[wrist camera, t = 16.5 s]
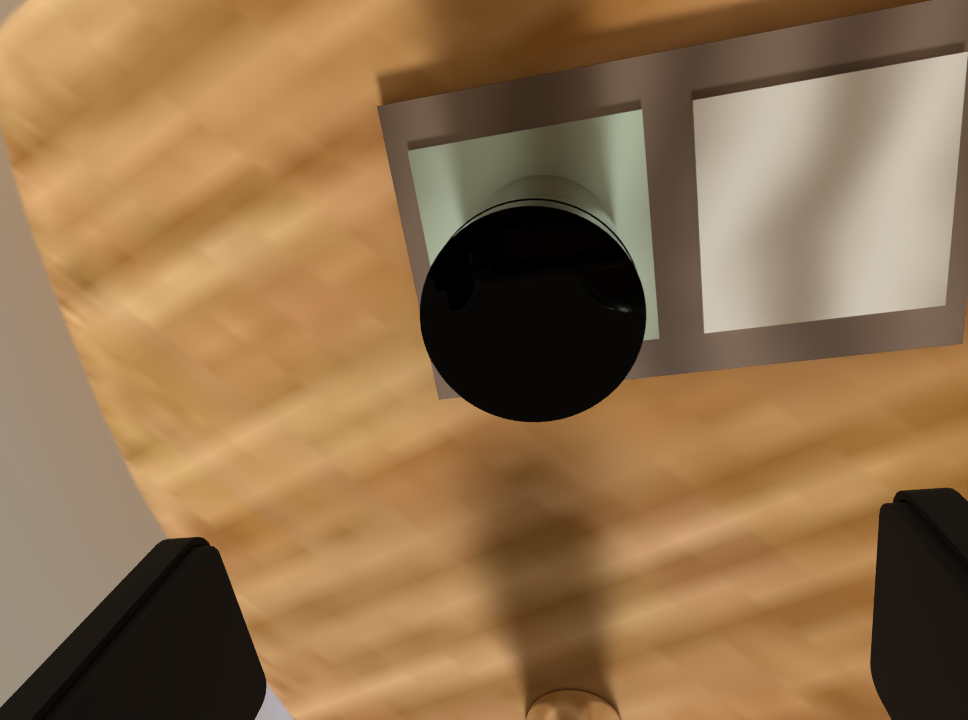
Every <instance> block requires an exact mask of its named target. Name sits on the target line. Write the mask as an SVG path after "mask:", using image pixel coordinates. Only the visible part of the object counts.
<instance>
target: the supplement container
mask: <svg viewBox="0 0 968 720" xmlns="http://www.w3.org/2000/svg"><path fill="white" fill-rule="evenodd" d="M646 318H647V317H646V301H645V294H644V291H643V287H642V283H641V280H640V278H639V275H638V272H637V269H636V267H635V264H634V261H633V259H632V257H631V255H630V253H629V251H628V250H627V248H626V247H625V245H624V244H623V242H622V240H621V238H620V236H619V234H618V232H617V229H616V227H615V225H614V223H613V221H612V219H611V217H610V215H609V213H608V211H607V210H606V208H605V207H604V205H603V204H602V203H601V201H600V200H599V199H598V198H597V197H596V196H595V195H594V194H593V193H591V192H590V191H589V190H588V189H586V188H585V187H583V186H581V185H580V184H578V183H576V182H573V181H571V180H568V179H565V178H561V177H557V176H550V175H538V176H530V177H525V178H521V179H518V180H515V181H513V182H511V183H509V184H507V185H505V186H503V187H502V188H500V189H499V190H497V191H496V192H495V193H494V194H492V195H491V196H490V197H489V198H488V199H487V200H486V201H485V203H484V204H483V205H482V206H481V207H480V208H479V209H478V210H477V212H476V213H475V214H474V215H473V216H472V217H471V218H470V219H469V220H468V221H467V222H465V223H464V224H463V225H462V226H461V227H460V228H459V229H458V230H457V231H456V232H455V233H454V234H453V235H452V236H451V238H450V239H449V240H448V242H447V243H446V244H445V246H444V247H443V248H442V250H441V251H440V252H439V254H438V255H437V257H436V258H435V260H434V262H433V263H432V265H431V267H430V269H429V272H428V274H427V276H426V279H425V282H424V286H423V290H422V295H421V302H420V324H421V332H422V336H423V341H424V344H425V347H426V350H427V352H428V354H429V357H430V359H431V361H432V363H433V364H434V366H435V368H436V370H437V371H438V373H439V374H440V375H441V377H442V378H443V379H444V381H445V382H446V383H447V384H448V385H449V386H450V387H451V388H452V389H453V390H454V391H455V392H456V393H457V394H458V395H459V396H461V397H462V398H463V399H465V400H466V401H467V402H469V403H471V404H472V405H474V406H475V407H477V408H479V409H481V410H483V411H485V412H487V413H490V414H492V415H495V416H498V417H501V418H505V419H509V420H514V421H522V422H546V421H554V420H559V419H563V418H567V417H570V416H573V415H576V414H578V413H581V412H583V411H585V410H587V409H589V408H591V407H593V406H594V405H596V404H598V403H599V402H601V401H602V400H603V399H605V398H606V397H607V396H608V395H610V394H611V393H612V392H613V391H614V390H615V389H616V388H617V387H618V386H619V385H620V384H621V382H622V381H623V380H624V379H625V377H626V376H627V375H628V373H629V372H630V370H631V369H632V367H633V365H634V363H635V361H636V359H637V357H638V355H639V352H640V350H641V346H642V343H643V340H644V335H645V329H646Z"/></svg>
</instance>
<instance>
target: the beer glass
mask: <svg viewBox="0 0 968 720" xmlns="http://www.w3.org/2000/svg"><path fill="white" fill-rule="evenodd" d="M526 720H620V718H619V716H618V714H617V712H616V711H615V709H614V708H613V707H612V706H611V705H610V704H609V703H607V702H606V701H605V700H603V699H602V698H600V697H598V696H596V695H594V694H591V693H588V692H584V691H579V690H560V691H555V692H552V693H549V694H546V695H544V696H542V697H541V698H539V699H538V700H537V701H536V702H534V703H533V705H532V706H531V707H530V709H529V711H528V714H527V717H526Z"/></svg>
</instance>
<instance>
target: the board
mask: <svg viewBox="0 0 968 720" xmlns="http://www.w3.org/2000/svg"><path fill="white" fill-rule="evenodd" d="M377 108H378V113H379V118H380V123H381V127H382V132H383V137H384V142H385V146H386V151H387V156H388V160H389V165H390V170H391V175H392V179H393V184H394V189H395V194H396V198H397V203H398V208H399V213H400V217H401V222H402V227H403V231H404V236H405V241H406V246H407V250H408V255H409V260H410V265H411V269H412V274H413V279H414V284H415V288H416V293H417V298H418V302H419V307H420V302H421V295H422V290H423V286H424V282H425V279H426V276H427V274H428V272H429V269H430V267H431V265H432V263H433V262H434V260H435V258H436V257H437V255H438V254H439V252H440V251H441V250H442V248H443V247H444V246H445V244H446V243H447V242H448V240H449V239H450V238H451V236H452V235H453V234H454V233H455V232H456V231H457V230H458V229H459V228H460V227H461V226H462V225H463V224H464V223H465V222H467V221H468V220H469V219H470V218H471V217H472V216H473V215H474V214H475V213H476V212H477V210H478V209H479V208H480V207H481V206H482V205H483V204H484V203H485V201H486V200H487V199H488V198H489V197H490V196H491V195H492V194H494V193H495V192H496V191H497V190H499V189H500V188H502V187H503V186H505V185H507V184H509V183H511V182H513V181H515V180H518V179H521V178H525V177H530V176H538V175H550V176H557V177H561V178H565V179H568V180H571V181H573V182H576V183H578V184H580V185H581V186H583V187H585V188H586V189H588V190H589V191H590V192H591V193H593V194H594V195H595V196H596V197H597V198H598V199H599V200H600V201H601V203H602V204H603V205H604V207H605V208H606V210H607V211H608V213H609V215H610V217H611V219H612V221H613V223H614V225H615V227H616V229H617V232H618V234H619V236H620V238H621V240H622V242H623V244H624V245H625V247H626V248H627V250H628V251H629V253H630V255H631V257H632V259H633V261H634V264H635V267H636V269H637V272H638V275H639V278H640V280H641V283H642V287H643V291H644V294H645V301H646V317H647V318H646V329H645V335H644V340H643V343H642V346H641V350H640V352H639V355H638V357H637V359H636V361H635V363H634V365H633V367H632V369H631V370H630V372H629V373H628V375H627V376H626V377H625V379H624V380H627V379H636V378H646V377H655V376H664V375H674V374H683V373H692V372H702V371H711V370H721V369H730V368H739V367H749V366H758V365H768V364H777V363H786V362H796V361H805V360H814V359H824V358H833V357H843V356H852V355H861V354H871V353H880V352H889V351H899V350H908V349H918V348H927V347H936V346H946V345H955V344H963V335H964V325H965V315H966V305H967V296H968V0H931V1H925V2H920V3H915V4H910V5H905V6H899V7H894V8H889V9H884V10H878V11H873V12H868V13H863V14H857V15H852V16H847V17H842V18H837V19H831V20H826V21H821V22H816V23H810V24H805V25H800V26H795V27H789V28H784V29H779V30H774V31H769V32H763V33H758V34H753V35H748V36H742V37H737V38H732V39H727V40H721V41H716V42H711V43H706V44H701V45H695V46H690V47H685V48H680V49H674V50H669V51H664V52H659V53H653V54H648V55H643V56H638V57H633V58H627V59H622V60H617V61H612V62H606V63H601V64H596V65H591V66H585V67H580V68H575V69H570V70H565V71H559V72H554V73H549V74H544V75H538V76H533V77H528V78H523V79H517V80H512V81H507V82H502V83H497V84H491V85H486V86H481V87H476V88H470V89H465V90H460V91H455V92H449V93H444V94H439V95H434V96H429V97H423V98H418V99H413V100H408V101H402V102H397V103H392V104H387V105H381V106H377ZM431 364H432V369H433V373H434V378H435V383H436V388H437V392H438V397H439V399H449V398H458V397H461V396H459V395H458V394H457V393H456V392H455V391H454V390H453V389H452V388H451V387H450V386H449V385H448V384H447V383H446V382H445V381H444V379H443V378H442V377H441V375H440V374H439V373H438V371H437V370H436V368H435V366H434V364H433V363H432V361H431Z"/></svg>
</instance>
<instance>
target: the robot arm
mask: <svg viewBox="0 0 968 720" xmlns="http://www.w3.org/2000/svg"><path fill="white" fill-rule="evenodd" d="M870 665H871V674H872V678H873V682H874V685H875V688H876V691H877V693H878V695H879V697H880V699H881V701H882V703H883V705H884V706H885V708H886V710H887V712H888V714H889V716H890V718H891V719H892V720H968V501H967V500H966V499H965V498H964V497H962V496H961V495H960V494H959V493H958V492H957V491H955V490H954V489H951V488H935V489H920V490H905V491H899V492H897V493H896V495H895V497H894V500H893V503H885V504H883V505H882V507H881V508H880V514H879V529H878V545H877V562H876V578H875V594H874V611H873V627H872V643H871V660H870ZM265 694H266V678H265V675H264V672H263V669H262V666H261V664H260V661H259V658H258V656H257V653H256V650H255V648H254V645H253V642H252V639H251V637H250V634H249V631H248V629H247V626H246V623H245V620H244V618H243V615H242V612H241V610H240V607H239V604H238V602H237V599H236V596H235V593H234V591H233V588H232V585H231V583H230V580H229V577H228V575H227V572H226V569H225V566H224V564H223V561H222V558H221V556H220V553H219V551H218V550H217V549H216V548H215V547H213V546H210V544H209V542H208V541H206V540H205V539H204V538H201V537H191V538H176V539H166V540H163V541H161V542H160V543H158V544H157V545H156V546H155V547H154V548H153V549H152V550H151V551H150V552H149V553H148V554H147V555H146V556H145V557H144V558H143V559H142V561H140V563H139V564H138V565H137V566H136V567H135V568H134V569H133V570H132V571H131V572H130V573H129V574H128V575H127V576H126V577H125V578H124V579H123V580H122V581H121V582H120V583H119V584H118V586H117V587H116V588H115V589H114V590H113V591H112V592H111V593H110V594H109V595H108V596H107V597H106V598H105V599H104V600H103V601H102V602H101V603H100V604H99V605H98V606H97V608H96V609H94V611H93V612H92V613H91V614H90V615H89V616H88V617H87V618H86V619H85V620H84V621H83V622H82V623H81V624H80V625H79V626H78V627H77V628H76V629H75V630H74V632H73V633H72V634H70V636H69V637H68V638H67V639H66V640H65V641H64V642H63V643H62V644H61V645H60V646H59V647H58V648H57V649H56V650H55V651H54V652H53V653H52V654H51V656H50V657H48V658H47V660H46V661H45V662H44V663H43V664H42V665H41V666H40V667H39V668H38V669H37V670H36V671H35V672H34V673H33V674H32V675H31V676H30V677H29V678H28V679H27V681H26V682H25V683H24V684H23V685H22V686H21V687H20V688H19V689H18V690H17V691H16V692H15V693H14V694H13V695H12V696H11V697H10V698H9V699H8V700H7V701H6V702H5V703H4V704H3V706H2V707H1V708H0V720H255V718H256V716H257V714H258V712H259V710H260V708H261V706H262V704H263V701H264V698H265Z"/></svg>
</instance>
